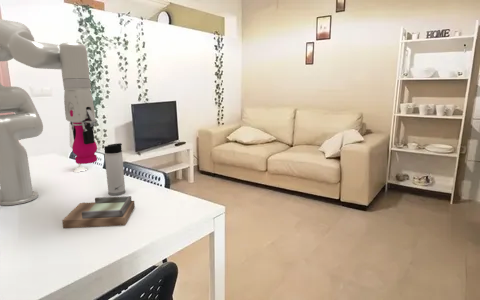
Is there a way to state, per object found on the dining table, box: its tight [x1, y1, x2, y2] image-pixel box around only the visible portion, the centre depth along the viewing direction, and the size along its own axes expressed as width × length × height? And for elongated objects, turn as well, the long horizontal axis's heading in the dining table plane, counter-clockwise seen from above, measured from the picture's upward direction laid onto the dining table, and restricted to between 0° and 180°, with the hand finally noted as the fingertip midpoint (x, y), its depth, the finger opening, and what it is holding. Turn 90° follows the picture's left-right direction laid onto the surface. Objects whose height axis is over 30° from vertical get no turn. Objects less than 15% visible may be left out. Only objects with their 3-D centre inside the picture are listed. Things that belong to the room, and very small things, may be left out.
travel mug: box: [103, 142, 126, 197], centre depth 123 cm, size 6×7×20 cm
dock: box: [61, 195, 135, 229], centre depth 102 cm, size 18×14×4 cm
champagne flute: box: [69, 123, 88, 173], centre depth 154 cm, size 7×7×24 cm
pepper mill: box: [70, 110, 98, 165], centre depth 101 cm, size 7×7×20 cm
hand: (84, 142), depth 101 cm, fingers closed on pepper mill, 5 cm apart
